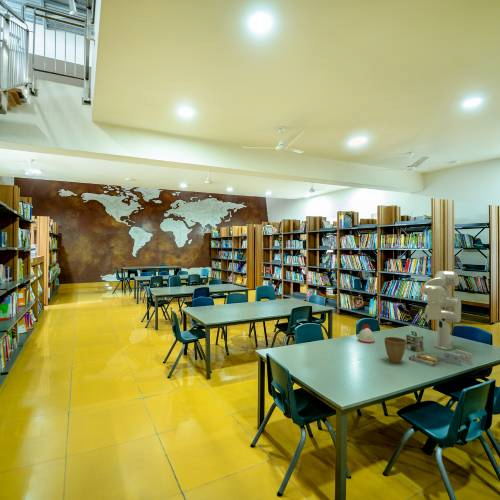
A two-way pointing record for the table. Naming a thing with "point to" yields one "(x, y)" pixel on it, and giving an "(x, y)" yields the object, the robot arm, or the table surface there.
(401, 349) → the plant pot
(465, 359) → the cassette
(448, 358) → the grey block
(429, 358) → the hinge base
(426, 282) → the robot arm
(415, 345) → the model building
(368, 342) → the cupcake
